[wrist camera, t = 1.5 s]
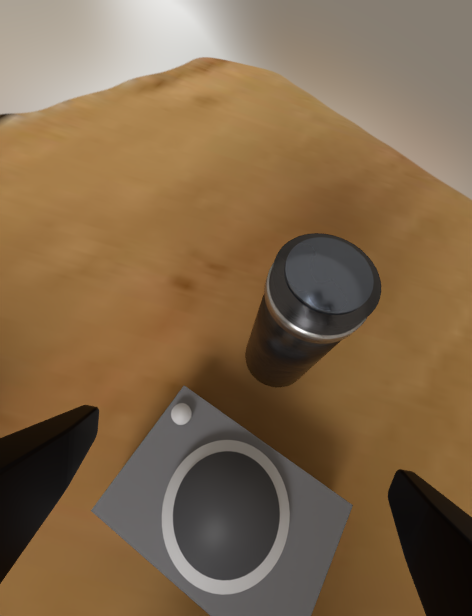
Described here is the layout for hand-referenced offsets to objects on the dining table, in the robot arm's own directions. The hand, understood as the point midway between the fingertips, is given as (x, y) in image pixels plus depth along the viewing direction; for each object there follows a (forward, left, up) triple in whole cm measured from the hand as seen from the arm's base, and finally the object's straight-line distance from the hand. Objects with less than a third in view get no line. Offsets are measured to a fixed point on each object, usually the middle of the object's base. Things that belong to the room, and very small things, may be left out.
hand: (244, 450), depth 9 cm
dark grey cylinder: (+1, -8, -13) cm, 16 cm away
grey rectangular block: (-1, +2, -13) cm, 14 cm away
